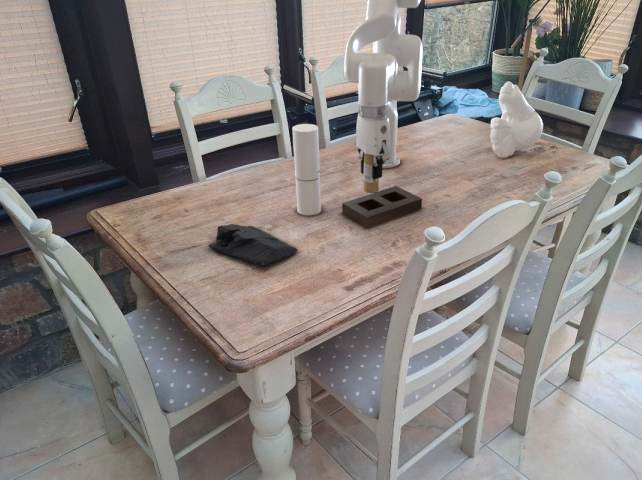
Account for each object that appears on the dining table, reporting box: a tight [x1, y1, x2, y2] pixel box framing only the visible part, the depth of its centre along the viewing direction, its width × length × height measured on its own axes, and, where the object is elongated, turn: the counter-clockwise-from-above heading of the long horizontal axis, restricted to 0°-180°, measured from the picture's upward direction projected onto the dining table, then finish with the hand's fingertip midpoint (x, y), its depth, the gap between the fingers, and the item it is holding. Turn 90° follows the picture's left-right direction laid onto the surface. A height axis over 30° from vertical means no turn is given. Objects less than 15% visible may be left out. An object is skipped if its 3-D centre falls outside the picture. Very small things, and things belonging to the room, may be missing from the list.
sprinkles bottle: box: [363, 148, 380, 194], centre depth 152 cm, size 5×5×13 cm
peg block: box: [341, 185, 423, 229], centre depth 161 cm, size 12×21×4 cm, turn 127°
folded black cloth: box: [208, 223, 299, 266], centre depth 141 cm, size 15×22×5 cm
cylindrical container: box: [291, 123, 322, 216], centre depth 156 cm, size 7×7×25 cm
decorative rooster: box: [489, 80, 544, 159], centre depth 198 cm, size 25×16×25 cm
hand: (371, 174), depth 153 cm, fingers closed on sprinkles bottle, 4 cm apart
